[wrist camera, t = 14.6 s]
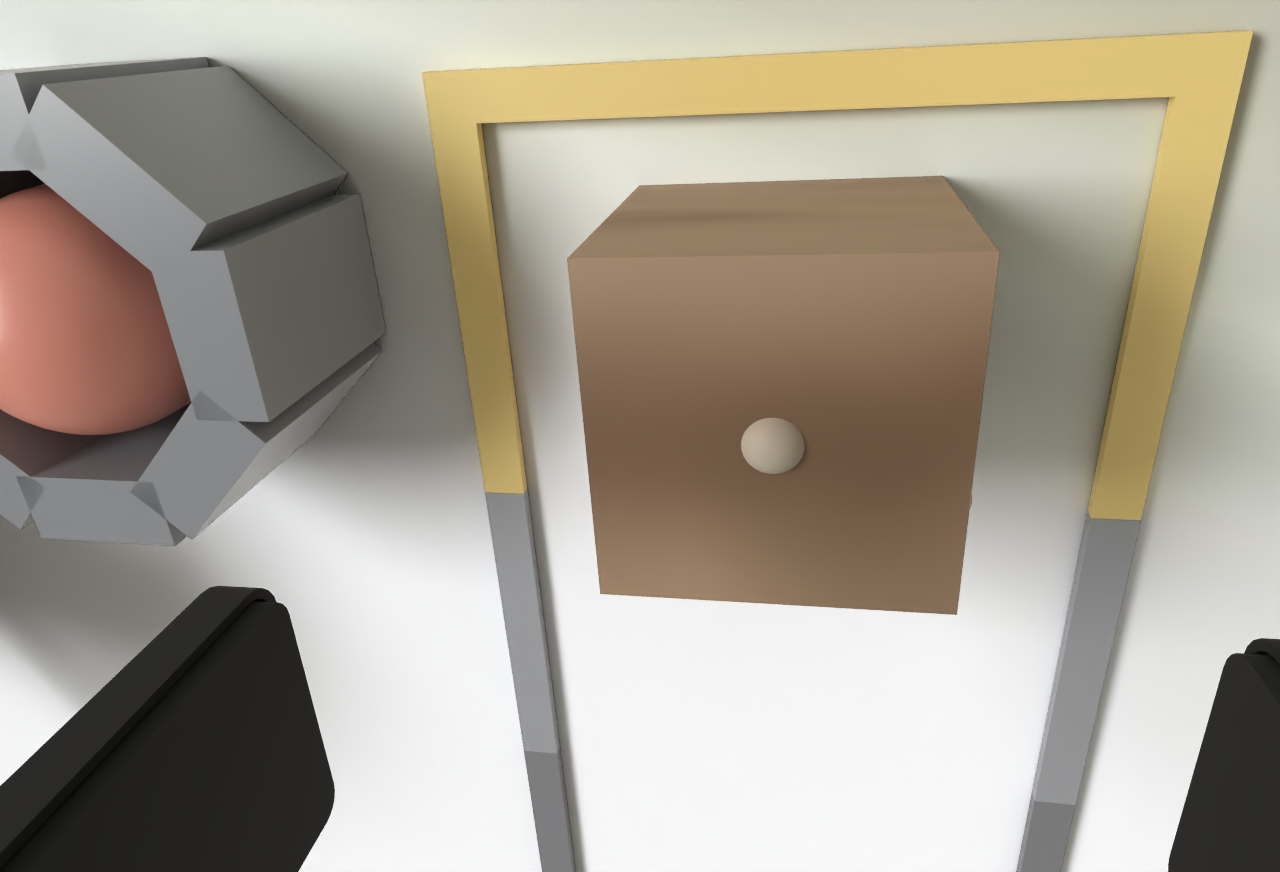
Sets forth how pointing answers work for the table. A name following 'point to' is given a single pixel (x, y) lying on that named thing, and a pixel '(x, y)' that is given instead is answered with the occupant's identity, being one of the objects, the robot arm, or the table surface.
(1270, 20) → the table surface
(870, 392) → the die
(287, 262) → the dome ring
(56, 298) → the dome
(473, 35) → the table surface
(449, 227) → the lane
